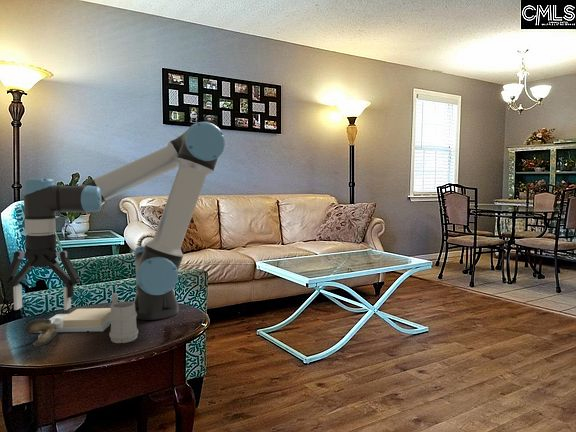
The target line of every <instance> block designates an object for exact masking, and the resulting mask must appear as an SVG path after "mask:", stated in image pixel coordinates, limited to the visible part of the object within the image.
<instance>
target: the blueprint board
mask: <svg viewBox="0 0 576 432" xmlns="http://www.w3.org/2000/svg"><path fill="white" fill-rule="evenodd" d="M110 312H111V307H105V308H104V307H101V308H95V307H94V308H75V310H73V311H71V312H70V313H57V314H55V315H54V316H52V317H50V318H48V319H49V320H51V324H53V322H54V321H55V319H61V320H63V323H64V324H63V327H62V328H61V329H56V331H57V333H77V332H78V333H80V332H81V333H83V332H84V333H85V332H86V333H87V331H89V332H104V331H105V330H107V328H108V327H110V326H111V325H110V324H111V320H110ZM41 332H42V331H39V332H34V333H39V334H40V333H41ZM89 332H88V333H89ZM34 333H33V334H34Z"/></svg>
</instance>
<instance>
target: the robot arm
mask: <svg viewBox="0 0 576 432" xmlns="http://www.w3.org/2000/svg"><path fill="white" fill-rule="evenodd" d="M225 145H226V140H225V136H224V133H223V132H222V130H221V128H219V126H217V125H215V124H214V123H212V122H209V121H199V122H195V123H193V124H191V125H190V126H189V128H188V129H187V130H186V131H185V132H183V133H182V134H181V135H179V136H177V137H176V138H174V139H173V140H169V142H168V143H167V145H166V146H164V147H162V148H159V149H158V150H155V151H154V152H151V153H149V154H147V155H145V156H141V157H140V158H138V159H135V160H134V161H131V162H129V163H127V164H124V165H122V166H120V167H118V168H116V169H114V170H111V171H109V172H107V173H105V174H103V175H101V176H98V177H96V178H93V179H92V180H89V181H86V182H84V183H82V184H80V185H58V184H57V185H56V183H55V180H54V178H33V177H31V178H26V179H25V180H24V182H23V195H22V196H23V208H24V209H23V211H24V212H23V213H24V233H25V234H26V235H25V237H24V239H25V240H24V242H25V243H24V245H25V246H24V247H25V251H23V250H21V249H20V250H16V251H14V252H13V259H12V262H11V264H9V265H10V266H9V267H8V269H7V271H6V274H5V276H4V278H3V280H2V284H3V285H8V286H9V289H10V297H11V298H13V310H14V311H17V310H20V309H22V308H23V290H22V289H23V287H22V284H20V282H21V281H22V280H23V279H24V277H26V275H27V274H28V273H29V272H30V271H31V269H32V268H49V270H51V271H53V273H54V274H55V275H56V276H57V277H58V279H60V281H61V282H62V283H63V284H64V285H65V286H63V288H62V290H63V311H68V310H69V309H70V308H72V298H73V297H74V294H75V293H74V292H75V291H74V290H75V289H74V287H75V285H77V284H80V283H81V281H82V280H81V277H80V276H79V274H78V272H77V270H76V267H74V265H73V263H72V261H71V259H70V256H69V251H68V250H66V249H65V250H62V251H57V234H55V233H56V231H57V228H56V226H57V224H56V213H89V214H90V213H97V212H100V211H101V209H102V203H104V202H106V201H107V200H108V201H109V200H110V199H112V198H114V197H116V196H119V195H120V194H124V193H125V192H127V191H129V190H132V189H133V188H136V187H138V186H141V185H143V184H145V183H146V182H149V181H151V180H153V179H155V178H157V177H159V176H162V175H164V174H166V173H168V172H170V171H173V170H175V169H176V168H177V172H176V174H175V175H176V176H175V177H174V180H173V183H172V186H171V189H170V191H169V195H168V197H167V199H166V202H165V205H164V209H163V211H162V214H161V217H160V220H159V222H158V225H157V227H156V231H155V233H154V236H153V239H152V240H150V241H149V242H146V243H145V245H142V246H137V247H136V248H135V250H134V258H135V259H134V261H135V262H134V263H135V282H136V283H135V288H136V290H135V296H134V299H133V302H134V303H135V311H136V313H137V317H136V320H144V321H150V320H152V321H153V320H154V321H155V320H161V319H166V318H170V317H172V316H175V315H177V314H178V313H179V311H180V310H179V302H178V300H177V297H176V295H175V292H174V287H175V286H176V284H177V282H178V279H179V268H180V267H181V264H182V260H183V257H184V253H183V252H182V245H183V242H184V239H185V237H186V233H187V231H188V228H189V225H190V223H191V220H192V218H193V215H194V211H195V209H196V207H197V203H198V201H199V198H200V195H201V192H202V190H203V186H204V183H205V181H206V177H207V176H208V175H210V174H213V172H214V170H215V167H216V166H217V165H216V164H217V162H218V160H219V158H220V156H221V155H222V154H223V152H224V150H225ZM24 258H25V259H26V260H27V262H25V263H24V264H23V267H22V268H21V269H20V270H19V271H18V269H19V267H20V265H21V263H22V261H23V259H24ZM57 258H58V259H59V260H60V262H61V263H62V265H63V266H61V265H60V263H59V262H58V261H57V260H56V259H57ZM62 267H64V269H65V270H64V269H63V268H62Z"/></svg>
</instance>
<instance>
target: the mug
mask: <svg viewBox="0 0 576 432" xmlns="http://www.w3.org/2000/svg"><path fill="white" fill-rule="evenodd" d="M111 296H112V298H111V305H110V308H111V312H110V320H111V325H110V331H109V334H108V335H109V338H110V342H112V343H115V344H126V343H129V342H134V341H135V340H136V339H138V335H139V329H138V328H137V327H138V325H137V319H136V317H137V313H136V311H135V303H134V301H119V300H118V294H117V293H116V292H113V293H112V294H111Z"/></svg>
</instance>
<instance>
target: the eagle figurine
mask: <svg viewBox="0 0 576 432" xmlns="http://www.w3.org/2000/svg"><path fill="white" fill-rule="evenodd" d="M49 319H50V318H42V319H41V318H35V319H33V320H31V321H29V322H28V323H27V324H26V325H25V326H24V329H23V331H24V332H25V334H31V333H32V334H34V332H39V331H42V332H39V334H38V336H37V337H38V339H36V340H35V341H34V342H33V343H32V346H34V347H40V346H45V345H47V344H48V343H50V342H51V341H52V340H53V338H54V337H55V336H57V335H58V332H57V331H56V329H61V328H62V327H63V324H64V323H63V320H61V319H55V321H54V322H53V324H51V320H49Z"/></svg>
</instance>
